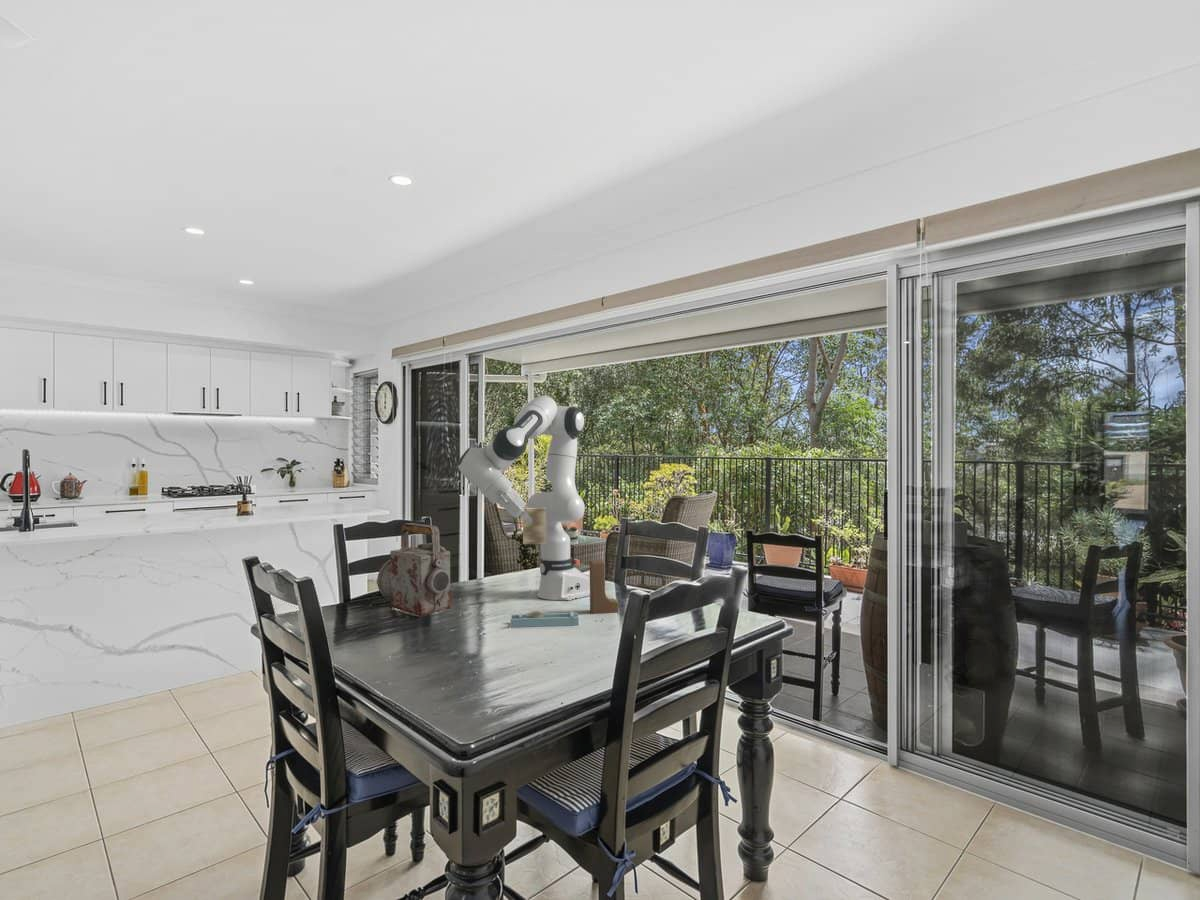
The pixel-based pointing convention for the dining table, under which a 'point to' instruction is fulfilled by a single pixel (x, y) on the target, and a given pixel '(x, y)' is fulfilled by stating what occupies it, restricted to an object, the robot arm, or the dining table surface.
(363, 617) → the dining table surface
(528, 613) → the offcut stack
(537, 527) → the beige rectangular slab
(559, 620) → the rack
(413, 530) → the lantern
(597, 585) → the wooden block
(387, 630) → the dining table surface
